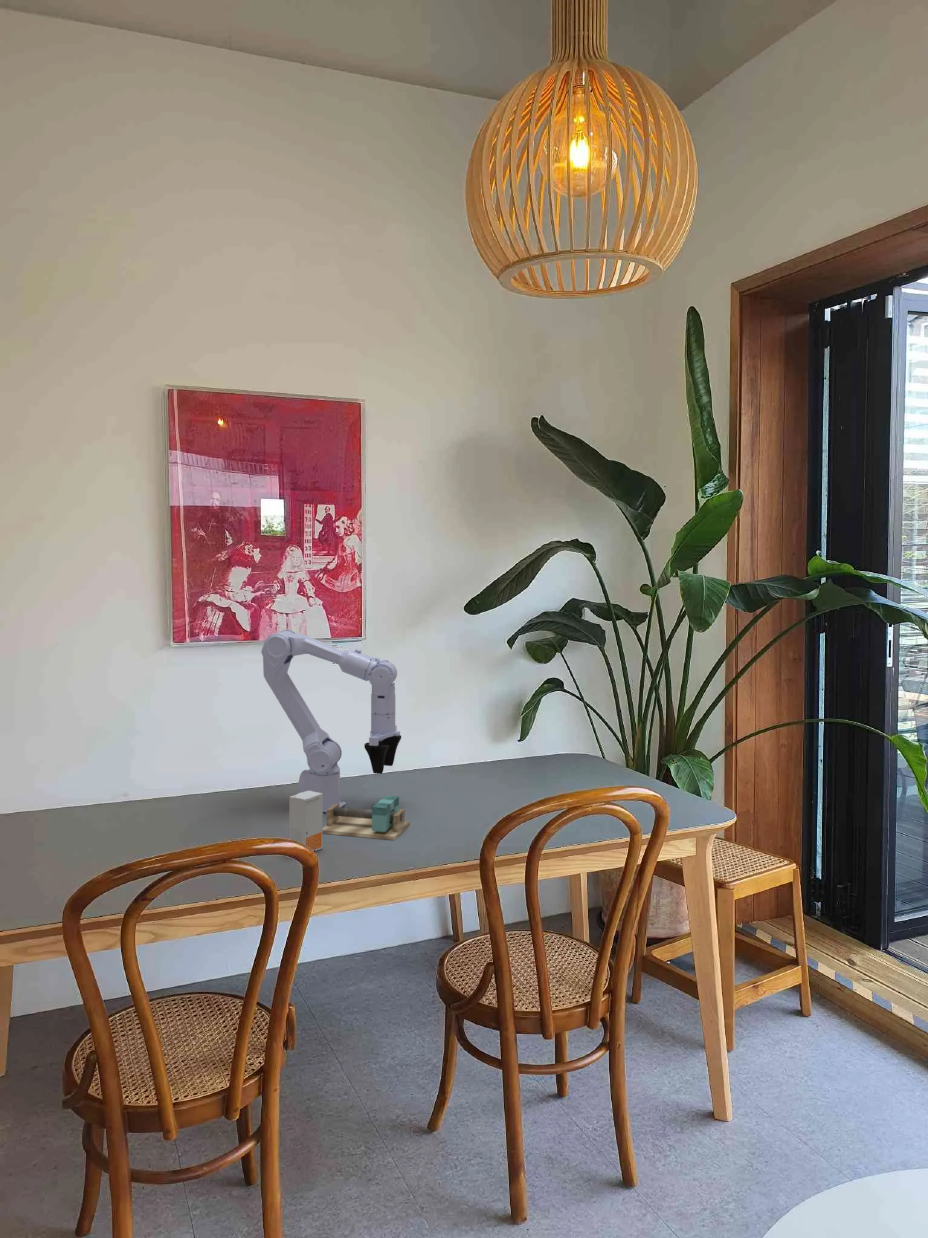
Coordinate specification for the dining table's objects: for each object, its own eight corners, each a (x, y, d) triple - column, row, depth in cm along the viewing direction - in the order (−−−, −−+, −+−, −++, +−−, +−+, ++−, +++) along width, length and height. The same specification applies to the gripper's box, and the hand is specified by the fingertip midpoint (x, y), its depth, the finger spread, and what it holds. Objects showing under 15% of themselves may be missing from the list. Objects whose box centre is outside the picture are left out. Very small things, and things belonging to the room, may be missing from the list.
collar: (372, 830, 212) (372, 807, 212) (386, 818, 221) (386, 795, 221) (385, 832, 211) (385, 808, 211) (398, 819, 221) (398, 796, 220)
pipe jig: (320, 833, 214) (320, 813, 214) (338, 819, 225) (338, 799, 224) (394, 840, 210) (394, 819, 210) (409, 825, 221) (409, 805, 220)
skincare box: (304, 857, 199) (304, 799, 198) (288, 853, 201) (288, 796, 200) (323, 848, 204) (323, 793, 203) (308, 845, 206) (307, 789, 205)
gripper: (389, 719, 222) (389, 778, 223) (408, 708, 236) (408, 763, 237) (360, 717, 224) (360, 776, 225) (380, 706, 238) (380, 761, 239)
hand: (383, 769), depth 231 cm, fingers open, 7 cm apart
